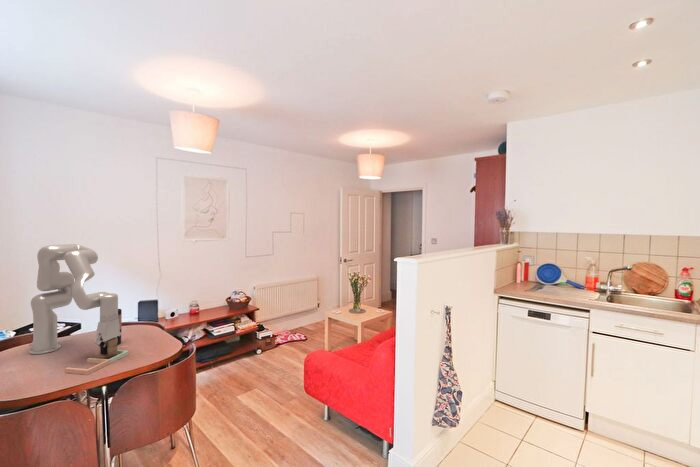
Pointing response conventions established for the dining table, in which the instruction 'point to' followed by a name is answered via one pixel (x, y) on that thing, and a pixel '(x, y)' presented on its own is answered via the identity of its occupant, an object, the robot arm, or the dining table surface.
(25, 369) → the dining table surface
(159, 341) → the dining table surface
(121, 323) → the travel mug
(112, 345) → the walnut block
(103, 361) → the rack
